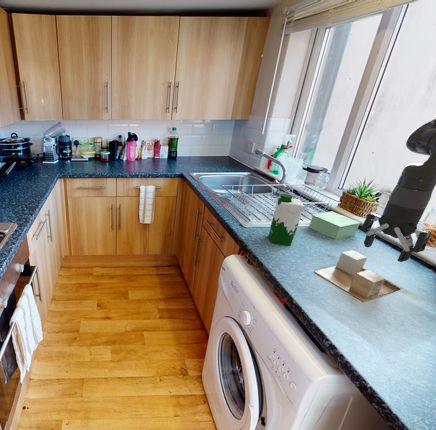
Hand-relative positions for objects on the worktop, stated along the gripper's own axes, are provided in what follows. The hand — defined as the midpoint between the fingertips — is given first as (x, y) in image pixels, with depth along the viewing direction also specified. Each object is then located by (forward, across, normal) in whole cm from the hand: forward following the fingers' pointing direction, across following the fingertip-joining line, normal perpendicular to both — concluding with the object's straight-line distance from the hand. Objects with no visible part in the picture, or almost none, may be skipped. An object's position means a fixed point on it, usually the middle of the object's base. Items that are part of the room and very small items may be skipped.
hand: (383, 253), depth 84 cm
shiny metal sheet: (+15, +5, -4) cm, 16 cm away
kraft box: (+14, 0, 0) cm, 14 cm away
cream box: (+14, +10, -8) cm, 19 cm away
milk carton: (+15, +34, -2) cm, 37 cm away
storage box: (+15, +31, -28) cm, 44 cm away
